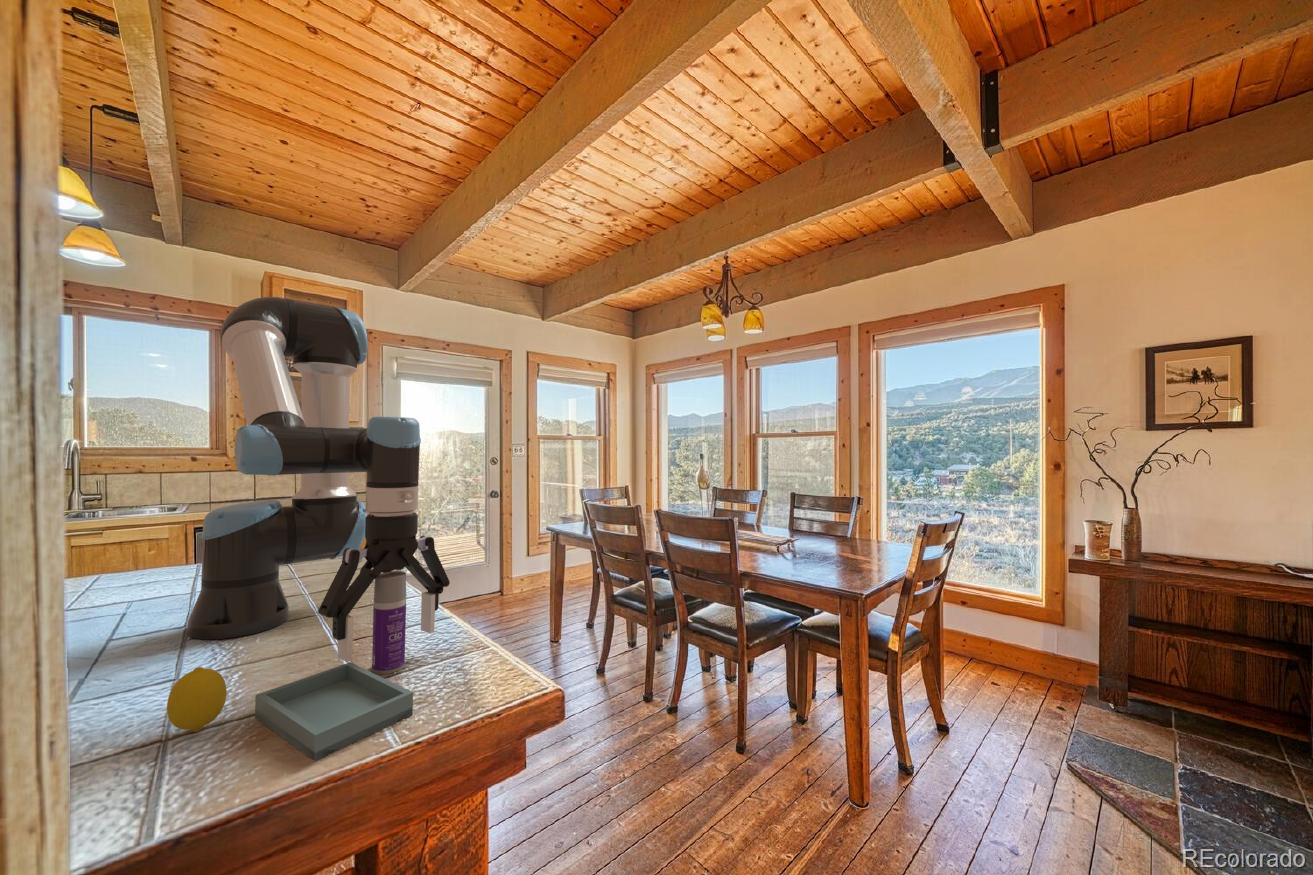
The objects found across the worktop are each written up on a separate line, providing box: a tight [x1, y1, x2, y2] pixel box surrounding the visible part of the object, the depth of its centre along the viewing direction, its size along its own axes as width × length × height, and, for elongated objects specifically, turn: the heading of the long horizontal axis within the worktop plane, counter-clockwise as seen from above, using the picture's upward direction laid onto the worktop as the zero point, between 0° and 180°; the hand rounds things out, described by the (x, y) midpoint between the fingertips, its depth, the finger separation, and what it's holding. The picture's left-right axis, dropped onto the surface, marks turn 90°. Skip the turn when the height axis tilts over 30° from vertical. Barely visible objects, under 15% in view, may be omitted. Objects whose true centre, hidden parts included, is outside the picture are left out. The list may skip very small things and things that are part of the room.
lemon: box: [166, 666, 228, 733], centre depth 64 cm, size 6×6×8 cm
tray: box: [254, 661, 414, 762], centre depth 68 cm, size 16×12×3 cm
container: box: [371, 570, 407, 675], centre depth 82 cm, size 5×5×15 cm
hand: (389, 644), depth 82 cm, fingers open, 13 cm apart
